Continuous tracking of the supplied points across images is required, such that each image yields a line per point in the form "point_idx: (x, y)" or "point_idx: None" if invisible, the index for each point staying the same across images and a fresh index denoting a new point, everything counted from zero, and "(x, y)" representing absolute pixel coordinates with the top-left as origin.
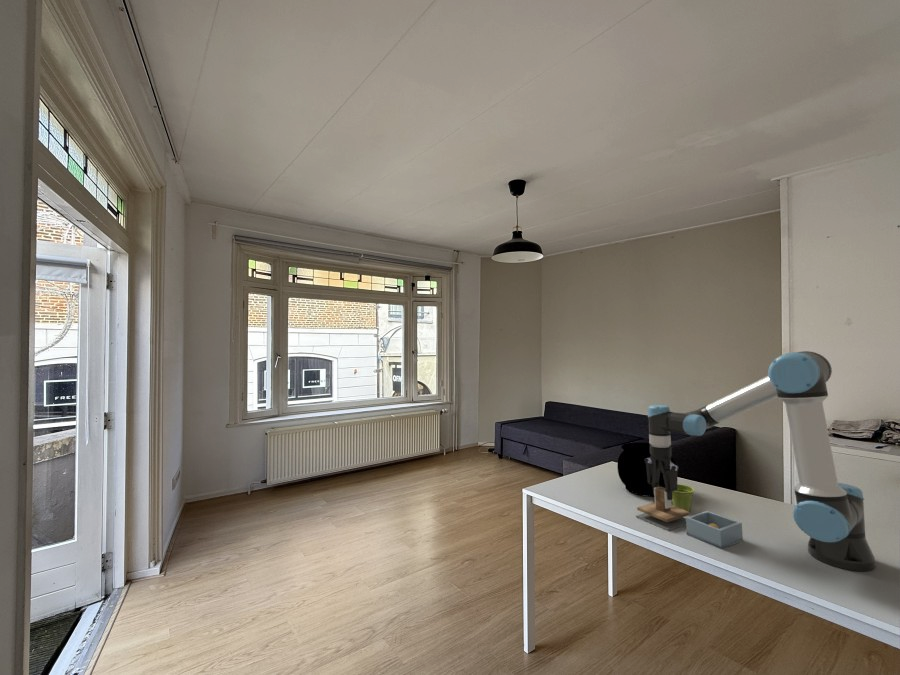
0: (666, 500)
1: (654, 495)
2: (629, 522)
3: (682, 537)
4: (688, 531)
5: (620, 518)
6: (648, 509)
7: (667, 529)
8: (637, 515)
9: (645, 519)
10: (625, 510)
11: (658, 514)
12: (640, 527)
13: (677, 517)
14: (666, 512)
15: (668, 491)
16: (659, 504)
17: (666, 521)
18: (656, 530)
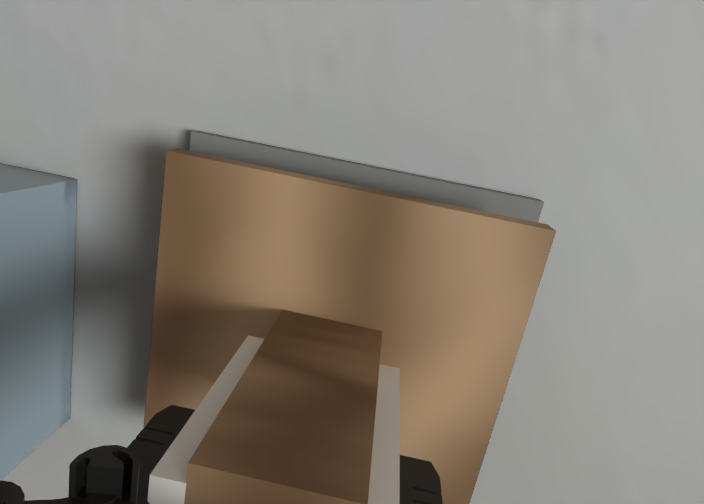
0: (212, 389)
1: (399, 434)
2: (532, 29)
3: (66, 100)
4: (37, 180)
5: (650, 50)
6: (432, 264)
7: (199, 132)
8: (533, 218)
9: (433, 184)
10: (691, 278)
11: (291, 212)
12: (397, 3)
13: (159, 303)
14: (266, 321)
15: (87, 479)
16: (325, 352)
17: (185, 150)
18: (266, 61)
